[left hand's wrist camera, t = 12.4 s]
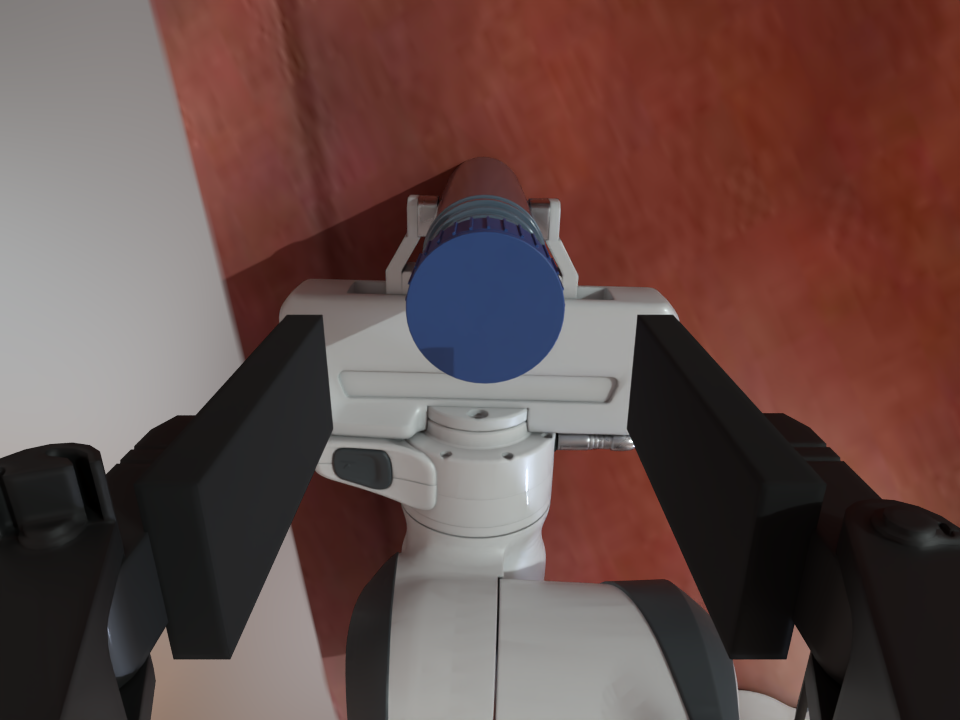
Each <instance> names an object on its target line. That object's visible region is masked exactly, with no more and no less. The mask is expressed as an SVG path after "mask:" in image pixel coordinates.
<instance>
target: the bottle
mask: <svg viewBox="0 0 960 720" xmlns="http://www.w3.org/2000/svg"><path fill="white" fill-rule="evenodd" d="M487 216H489V217H490V218H495V219H500V220H503V218H504V219H506V221H508V222H511V223H514V224H516V225H518V224H520V225H521V226H522V228H523V229H525V230H526V231H528V232H529V233H530V234H532V233H533V234H535V237H536V239H537V240H538V241H539V242H540V243H541V245H545V242H544V238H543V235H542V232H541V230H540V228H539V226H538V224H537V221H536V219H535V217H534V215H533V212H532V210H531V208H530V206H529V203H528V201H527V199H526V197H525V194H524V192H523V190H522V188H521V186H520V183H519V181H518V179H517V177H516V175H515V174H514V172H513V171H512V170H511V169H510V168H509V167H508V166H507V165H506V164H504V163H503V162H501V161H499V160H496V159H494V158H489V157H477V158H473V159H470V160H467V161H466V162H464V163H462V164H461V165H459V166H458V167H457V168H456V169H455V170H454V171H453V173H452V174H451V176H450V177H449V180H448V182H447V184H446V187H445V189H444V192H443V194H442V197H441V199H440V202H439V204H438V207H437V209H436V212H435V214H434V217H433V219H432V222H431V224H430V226H429V229H428V231H427V234H426V237H425V240H424V245H423V252H424V250H425V248H426V246H427V243H428V241H429V240H431V241H432V240H433V239H434V238H435V237H436V236H437V235H438V234H439V232H440V230H443V231H444V230H445V229H447V228H448V227H450V226H452V225H454V222H457V223H459V222H462V221H465V220H470V217H473V219H475V218H487Z"/></svg>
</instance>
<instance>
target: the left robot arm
mask: <svg viewBox="0 0 960 720" xmlns="http://www.w3.org/2000/svg"><path fill="white" fill-rule="evenodd" d="M332 431H333V419H332V409H331V398H330V387H329V377H328V366H327V356H326V345H325V334H324V324H323V315H286V316H285V317H284V318H283V320H282V321H281V322H280V323H279V324H278V325H277V326H276V327H275V328H274V329H273V331H272V332H271V333H270V334H269V335H268V336H267V337H266V338H265V339H264V340H263V342H262V343H261V344H260V345H259V346H258V347H257V348H256V349H255V350H254V352H253V353H252V354H251V355H250V356H249V357H248V358H247V359H246V360H245V361H244V363H243V364H242V365H241V366H240V367H239V368H238V369H237V370H236V371H235V373H234V374H233V375H232V376H231V377H230V378H229V379H228V380H227V381H226V382H225V384H224V385H223V386H222V387H221V388H220V389H219V390H218V391H217V392H216V394H215V395H214V396H213V397H212V398H211V399H210V400H209V401H208V402H207V403H206V405H205V406H204V407H203V408H202V409H201V410H200V411H199V412H198V413H197V414H196V415H193V416H192V415H189V416H188V415H183V416H182V415H177V416H175V417H174V418H172V419H170V420H168V421H166V422H164V423H162V424H161V425H159V426H157V427H155V428H153V429H151V430H150V431H149V432H148V433H147V434H146V435H145V436H144V437H143V438H142V439H141V440H140V441H139V442H138V443H137V444H136V445H135V446H134V450H130V451H129V452H128V453H127V454H126V455H125V456H124V457H123V458H122V459H121V460H120V464H116V465H115V466H114V467H113V468H112V469H111V470H110V471H109V472H108V473H107V474H105V470H104V466H103V462H102V458H101V454H100V451H98V450H97V449H95V448H94V447H92V446H90V445H85V444H78V443H60V444H49V445H44V446H39V447H35V448H30V449H26V450H22V451H20V452H17V453H14V454H11V455H8V456H6V457H3V458H0V720H150V719H151V712H152V704H153V697H154V689H155V682H156V680H155V674H154V668H153V664H152V660H151V655H150V652H151V650H152V649H153V647H154V645H155V644H156V642H157V640H158V639H159V637H160V635H161V634H162V632H163V630H164V629H165V627H166V629H167V633H168V637H169V641H170V646H171V650H172V654H173V659H231V657H232V654H233V652H234V650H235V647H236V645H237V643H238V641H239V639H240V636H241V634H242V632H243V630H244V628H245V625H246V623H247V621H248V618H249V616H250V614H251V612H252V610H253V607H254V605H255V603H256V601H257V598H258V596H259V594H260V592H261V590H262V587H263V585H264V583H265V581H266V578H267V576H268V574H269V572H270V569H271V567H272V565H273V563H274V560H275V558H276V556H277V554H278V551H279V549H280V547H281V545H282V543H283V540H284V538H285V536H286V534H287V531H288V529H289V527H290V525H291V523H292V520H293V518H294V516H295V514H296V511H297V509H298V507H299V505H300V502H301V500H302V498H303V496H304V493H305V491H306V489H307V487H308V485H309V482H310V480H311V478H312V476H313V473H314V471H315V469H316V467H317V464H318V462H319V460H320V458H321V456H322V453H323V451H324V449H325V447H326V444H327V442H328V440H329V438H330V435H331V433H332ZM627 431H628V433H629V435H630V438H631V440H632V442H633V444H634V447H635V449H636V451H637V453H638V456H639V458H640V460H641V462H642V464H643V467H644V469H645V471H646V473H647V476H648V478H649V480H650V482H651V485H652V487H653V489H654V491H655V493H656V496H657V498H658V500H659V502H660V505H661V507H662V509H663V511H664V514H665V516H666V518H667V520H668V523H669V525H670V527H671V529H672V531H673V534H674V536H675V538H676V540H677V543H678V545H679V547H680V549H681V552H682V554H683V556H684V558H685V561H686V563H687V565H688V567H689V569H690V572H691V574H692V576H693V578H694V581H695V583H696V585H697V587H698V590H699V592H700V594H701V596H702V598H703V601H704V603H705V605H706V607H707V610H708V612H709V614H710V616H711V619H712V621H713V623H714V625H715V628H716V630H717V632H718V634H719V636H720V639H721V641H722V643H723V645H724V648H725V650H726V652H727V654H728V657H729V659H787V654H788V650H789V646H790V642H791V637H792V633H793V629H794V624H795V625H796V627H797V629H798V630H799V632H800V634H801V635H802V637H803V639H804V640H805V642H806V644H807V645H808V647H809V649H810V650H811V651H810V655H809V660H808V664H807V668H806V672H805V676H804V680H803V684H802V688H801V692H800V696H799V700H798V704H797V708H796V713H795V719H794V720H805V717H806V713H807V712H808V711H809V717H810V720H960V528H959V527H957V526H956V525H954V524H953V523H951V522H950V521H948V520H946V519H945V518H943V517H942V516H940V515H938V514H935V513H933V512H930V511H928V510H926V509H923V508H921V507H919V506H915V505H911V504H907V503H903V502H899V501H895V500H885V499H881V498H880V497H879V496H878V495H877V494H876V493H875V492H874V491H873V490H872V489H871V488H870V487H869V486H868V485H867V484H866V483H865V482H864V481H863V480H862V479H861V478H860V477H859V476H858V475H857V474H856V473H855V472H854V471H853V470H852V469H851V468H850V467H849V466H848V465H847V464H846V463H845V462H844V461H840V457H839V456H838V455H837V454H836V453H835V452H834V451H833V450H832V449H831V448H830V447H826V443H825V442H824V441H823V440H822V439H821V438H820V437H819V436H818V435H817V434H816V433H815V432H814V431H813V430H812V429H811V428H810V427H808V426H806V425H804V424H802V423H800V422H798V421H797V420H795V419H793V418H791V417H789V416H787V415H785V414H784V413H762V412H761V411H760V410H759V409H758V408H757V407H756V406H755V405H754V403H753V402H752V401H751V400H750V399H749V398H748V397H747V396H746V395H745V393H744V392H743V391H742V390H741V389H740V388H739V387H738V386H737V385H736V384H735V382H734V381H733V380H732V379H731V378H730V377H729V376H728V375H727V374H726V373H725V371H724V370H723V369H722V368H721V367H720V366H719V365H718V364H717V363H716V361H715V360H714V359H713V358H712V357H711V356H710V355H709V354H708V353H707V352H706V350H705V349H704V348H703V347H702V346H701V345H700V344H699V343H698V342H697V340H696V339H695V338H694V337H693V336H692V335H691V334H690V333H689V332H688V331H687V329H686V328H685V327H684V326H683V325H682V324H681V323H680V322H679V321H678V320H677V318H676V317H675V316H674V315H637V324H636V334H635V345H634V356H633V366H632V377H631V387H630V398H629V409H628V419H627Z"/></svg>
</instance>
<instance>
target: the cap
mask: <svg viewBox="0 0 960 720" xmlns="http://www.w3.org/2000/svg"><path fill="white" fill-rule="evenodd" d="M558 274H559V272H558V270H557V267H556V265H555V263H554V261H553V258H550V256H549V253H548V251H547V249H546V246H545V245H541V243H540V242H539V241H538V240H537V239H536V237H535V234H533V233H532V234H530V233H529V232H528V231H526V230H525V229H523V228H522V226H521V225H520V224H518V225H516V224H514V223H511V222H508V221H506V219H504V218H503V220H500V219H495V218H490V217H489V216H487V218H475V219H473V217H470V220H465V221H462V222H459V223H457V222H454V225H452V226H450V227H448V228H447V229H445V230H444V231H443V230H440V232H439V234H438V235H437V236H436V237H435V238H434V239H433V240H432V241H431V240H429V241H428V243H427V246H426V248H425V250H424V252H423V253H420V254H419V256H418V259H417V261H416V264H415V267H414V269H413V271H412V274H411V276H410V279H409V281H408V285H409V288H408V291H407V295H406V297H405V301H406V318H407V324H408V327H409V331H410V334H411V336H412V338H413V341H414V342H415V344H416V346H417V348H418V349H419V350H420V352H421V353H422V354H423V356H424V357H425V358H426V359H427V360H428V361H429V362H430V363H431V364H432V365H434V366H435V367H436V368H438V369H439V370H440V371H442V372H444V373H446V374H447V375H449V376H452V377H454V378H456V379H459V380H463V381H466V382H472V383H482V384H489V383H498V382H504V381H508V380H511V379H514V378H516V377H518V376H521V375H523V374H525V373H526V372H528V371H530V370H531V369H533V368H534V367H535V366H536V365H538V364H539V363H540V362H541V361H542V360H543V359H544V358H545V357H546V356H547V355H548V353H549V352H550V351H551V349H552V348H553V346H554V345H555V343H556V341H557V339H558V337H559V334H560V332H561V329H562V325H563V321H564V313H565V300H564V294H563V290H564V287H563V285H562V283H561V280H560V278H559V276H558Z"/></svg>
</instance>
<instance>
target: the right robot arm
mask: <svg viewBox="0 0 960 720" xmlns="http://www.w3.org/2000/svg"><path fill="white" fill-rule="evenodd" d="M528 203H529V206H530V208H531V210H532V212H533V215H534V217H535V219H536V221H537V224H538V226H539V228H540V230H541V232H542V235H543V238H544V240H545V241H546V243H547V245H548V247H549V249H550V251H551V253H552V255H553V257H554V259H555V261H556V263H557V265H558V268H557V270H558V272H559V274H558V276H559V278H560V280H561V283H562V285H563V287H564V290H563V294H564V300H565V313H564V321H563V325H562V329H561V332H560V334H559V337H558V339H557V341H556V343H555V345H554V346H553V348H552V349H551V351H550V352H549V353H548V355H547V356H546V357H545V358H544V359H543V360H542V361H541V362H540V363H539V364H538V365H536V366H535V367H534V368H533V369H531V370H530V371H528V372H526V373H525V374H523V375H521V376H518V377H516V378H514V379H511V380H508V381H504V382H498V383H489V384H482V383H472V382H466V381H463V380H459V379H456V378H454V377H452V376H449V375H447V374H446V373H444V372H442V371H440V370H439V369H438V368H436V367H435V366H434V365H432V364H431V363H430V362H429V361H428V360H427V359H426V358H425V357H424V356H423V354H422V353H421V352H420V350H419V349H418V348H417V346H416V344H415V342H414V341H413V338H412V336H411V334H410V331H409V327H408V324H407V318H406V301H405V297H406V295H407V291H408V288H409V285H408V281H409V279H410V276H411V274H412V271H413V269H414V267H415V264H416V262H408V263H407V264H406V262H407V260H408V259H409V257H410V255H411V253H412V252H413V250H414V248H415V246H416V244H417V243H418V241H419V239H420V237H426V234H427V231H428V229H429V226H430V224H431V222H432V219H433V217H434V214H435V212H436V209H437V207H438V204H439V196H430V195H409V197H408V202H407V233H406V235H405V237H404V239H403V241H402V242H401V244H400V246H399V248H398V249H397V251H396V253H395V255H394V257H393V258H392V260H391V262H390V264H389V266H388V267H387V269H386V281H379V280H339V279H307V280H305V281H303V282H302V283H301V284H300V285H299V286H298V287H296V288H295V289H294V290H293V291H292V292H291V293H290V295H289V296H288V297H287V298H286V300H285V301H284V303H283V304H282V306H281V309H280V313H279V323H280V322H281V321H282V320H283V318H284V317H285V316H286V315H323V324H324V334H325V345H326V356H327V366H328V377H329V387H330V398H331V409H332V419H333V431H332V433H331V435H330V438H329V440H328V442H327V444H326V447H325V449H324V451H323V453H322V456H321V458H320V460H319V462H318V464H317V467H316V469H315V471H316V472H317V473H318V474H319V475H321V476H323V477H325V478H328V479H331V480H334V481H337V482H341V483H344V484H348V485H351V486H354V487H358V488H361V489H364V490H367V491H370V492H373V493H376V494H379V495H382V496H385V497H387V498H390V499H393V500H395V501H398V502H400V503H401V506H402V509H403V512H404V515H405V519H406V523H407V532H406V535H405V538H404V541H403V545H402V553H399V552H397V553H396V554H394V555H393V556H392V557H391V558H390V559H389V560H388V561H387V562H386V563H385V564H384V565H383V566H382V567H381V568H380V569H379V571H378V572H377V573H376V574H375V575H374V577H373V578H372V579H371V580H370V581H369V583H368V584H367V585H366V586H365V587H364V589H363V590H362V592H361V594H360V596H359V598H358V600H357V602H356V604H355V607H354V610H353V613H352V617H351V621H350V626H349V631H348V637H347V645H346V702H347V719H348V720H794V719H795V713H796V708H793V707H790V706H788V705H786V704H784V703H782V702H780V701H778V700H776V699H774V698H772V697H770V696H767V695H764V694H761V693H757V692H752V691H746V690H738V686H737V678H736V673H735V668H734V664H733V660H732V659H729V657H728V654H727V652H726V650H725V648H724V645H723V643H722V641H721V639H720V636H719V634H718V632H717V630H716V628H715V625H714V623H713V621H712V619H711V616H710V615H709V614H708V613H707V612H706V611H705V610H704V609H703V608H702V607H701V606H700V605H699V604H697V603H696V602H695V601H694V600H693V599H692V598H691V597H689V596H688V595H687V594H686V593H685V592H683V591H682V590H681V589H679V588H678V587H677V586H676V585H674V584H673V583H672V582H670V581H668V580H665V579H658V580H634V581H605V582H602V583H600V584H596V583H577V582H557V581H544V575H545V564H546V553H545V547H544V543H543V540H542V536H541V529H542V526H543V523H544V521H545V519H546V517H547V514H548V511H549V507H550V499H551V488H552V475H553V462H554V451H556V450H592V449H597V448H598V449H602V448H603V449H610V450H611V451H629V450H633V449H634V448H635V447H634V444H633V442H632V440H631V438H630V435H629V433H628V431H627V419H628V409H629V398H630V387H631V377H632V366H633V356H634V345H635V334H636V324H637V315H674V316H675V317H676V318H677V320H678V321H679V318H678V315H677V313H676V312H675V310H674V308H673V307H672V306H671V304H670V303H669V302H668V301H667V300H666V298H665V297H664V296H662V295H661V294H660V293H659V292H658V291H657V290H655V289H653V288H648V287H613V286H578V274H577V272H576V270H575V268H574V266H573V264H572V262H571V260H570V258H569V256H568V254H567V252H566V250H565V248H564V246H563V244H562V242H561V240H560V238H559V226H560V211H561V208H560V201H559V200H558V199H548V198H529V200H528ZM493 710H494V718H493ZM805 720H810V717H809V711H808V712H807V713H806V717H805Z"/></svg>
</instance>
